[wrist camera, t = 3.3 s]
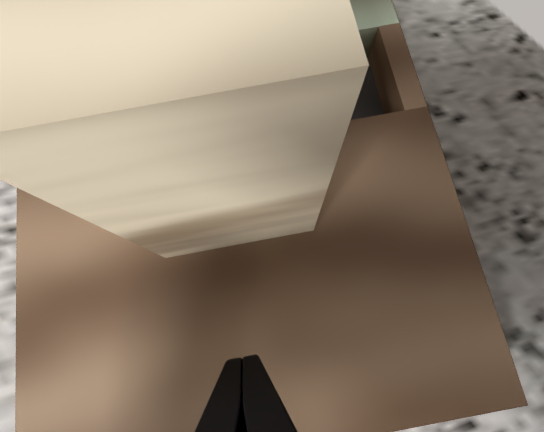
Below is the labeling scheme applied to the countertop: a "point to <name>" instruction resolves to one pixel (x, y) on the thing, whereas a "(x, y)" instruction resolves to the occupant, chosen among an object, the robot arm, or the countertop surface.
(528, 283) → the countertop surface
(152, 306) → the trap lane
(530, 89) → the countertop surface
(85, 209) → the birch block
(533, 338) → the countertop surface
